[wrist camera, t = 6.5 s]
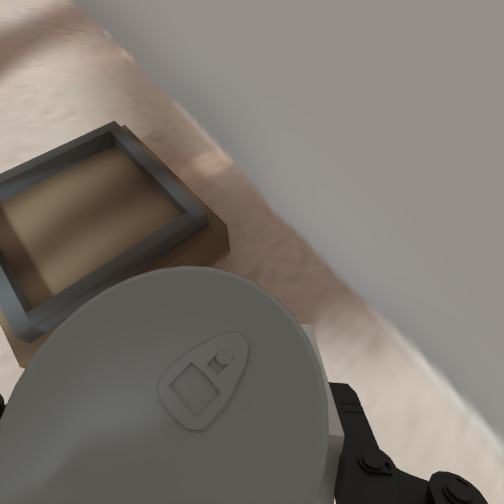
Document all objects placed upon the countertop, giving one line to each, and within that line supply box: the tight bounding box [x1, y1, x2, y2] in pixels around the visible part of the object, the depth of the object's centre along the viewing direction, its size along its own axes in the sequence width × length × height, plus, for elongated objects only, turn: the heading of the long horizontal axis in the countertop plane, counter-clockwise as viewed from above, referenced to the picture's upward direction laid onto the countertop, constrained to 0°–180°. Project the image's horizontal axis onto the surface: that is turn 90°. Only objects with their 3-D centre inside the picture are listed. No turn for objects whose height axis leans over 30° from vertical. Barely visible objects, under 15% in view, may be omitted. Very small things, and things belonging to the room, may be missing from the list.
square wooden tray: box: [0, 121, 230, 369], centre depth 26 cm, size 16×16×6 cm
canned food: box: [0, 266, 329, 504], centre depth 12 cm, size 8×8×11 cm
